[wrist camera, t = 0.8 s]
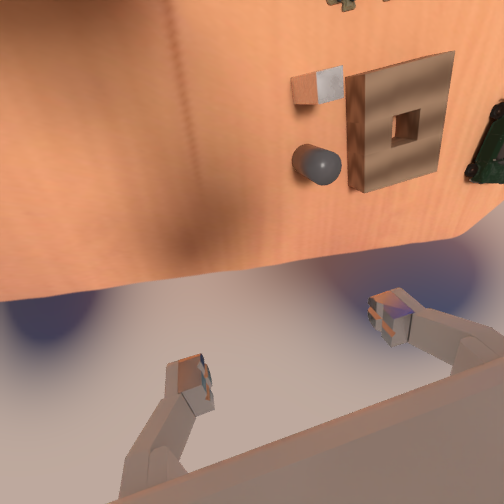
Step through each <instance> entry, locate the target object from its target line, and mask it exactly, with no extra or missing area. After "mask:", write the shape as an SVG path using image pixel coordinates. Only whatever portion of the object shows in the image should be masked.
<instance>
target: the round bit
mask: <svg viewBox="0 0 504 504" xmlns="http://www.w3.org/2000/svg"><path fill="white" fill-rule="evenodd" d="M292 165H293V168H294V169H295V170H296V171H297V172H298V173H300V174H302V175H303V176H305V177H307V178H308V179H310V180H312V181H313V182H315V183H317V184H318V185H328V184H330V183H332V182H334V181H335V180H336V179H337V177H338V176H339V174H340V171H341V167H342V164H341V159H340V157H339V156H338V155H337V154H336V153H334V152H331V151H328V150H325V149H322V148H319V147H316V146H313V145H310V144H304V145H301V146H300V147H298V148H297V149H296V150H295V152H294V154H293V156H292Z"/></svg>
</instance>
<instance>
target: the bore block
mask: <svg viewBox="0 0 504 504" xmlns="http://www.w3.org/2000/svg"><path fill="white" fill-rule="evenodd" d="M454 55H455V51H450V52H444V53H439V54H434V55H429V56H424V57H420V58H417V59H413V60H409V61H405V62H401V63H398V64H394V65H390V66H386V67H383V68H379V69H375V70H371V71H367V72H364V73H360V74H356V75H352V76H348V77H345V81H346V119H347V158H348V186H350V187H352V188H354V189H356V190H358V191H360V192H362V193H368V192H371V191H374V190H377V189H381V188H384V187H387V186H390V185H394V184H397V183H400V182H404V181H407V180H410V179H413V178H417V177H420V176H423V175H426V174H430V173H433V172H436V171H437V167H438V161H439V154H440V147H441V141H442V134H443V128H444V121H445V114H446V108H447V101H448V94H449V88H450V81H451V75H452V68H453V61H454ZM395 115H397V118H396V134H395V137H393V138H392V122H393V116H395Z"/></svg>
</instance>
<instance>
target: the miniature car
mask: <svg viewBox="0 0 504 504" xmlns="http://www.w3.org/2000/svg"><path fill="white" fill-rule="evenodd" d="M490 117H491V118H494V119H496V121H495V122H493V123H492V125H491V127H490V129H489V131H488V134H487V136H486V138H485V140H484V142H483V145H482V147H481V149H480V151H479V153H478V155H477V158H476V160H475V161H476V162H477V163H478V164H477V163H476V162H475V163H476V164H475V163H474V164H470V165H468V166H467V168H466V170H465V172H464V173H465V174H466V176H468V177H472V178H470V179H469V181H470V182H473V183H479V184H483V183H499V184H504V103H500V104H498V105H495V106H494V107H493V108H492V110H491V113H490ZM497 119H498V120H497ZM472 169H473V170H472Z"/></svg>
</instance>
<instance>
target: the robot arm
mask: <svg viewBox="0 0 504 504" xmlns="http://www.w3.org/2000/svg"><path fill="white" fill-rule="evenodd" d="M368 304H369V305H370V308H369V309H368V318H369V321H370V322H371V324H372V326H373V327H374V328H375V329H376V330H378V331H381V332H382V338H383V339H384V340H385V341H386V342H387V343H388V344H389V346H390V347H394V346H397V345H400V344H404V343H407V342H409V344H411V345H413V346H415V347H418V348H419V349H421V350H423V351H425V352H427V353H429V354H431V355H433V356H435V357H437V358H439V359H441V360H443V361H444V362H446V363H448V364H450V365H452V366H453V367H452V370H451V374H450V377H447V378H444V379H441V380H439V381H436V382H433V383H431V384H428V385H425V386H422V387H420V388H417V389H414V390H412V391H409V392H406V393H404V394H401V395H398V396H395V397H393V398H390V399H387V400H385V401H382V402H379V403H376V404H374V405H372V406H368V407H366V408H363V409H360V410H358V411H355V412H352V413H349V414H347V415H344V416H341V417H339V418H336V419H333V420H331V421H328V422H325V423H323V424H320V425H318V426H315V427H312V428H309V429H307V430H304V431H301V432H299V433H296V434H293V435H290V436H288V437H285V438H282V439H280V440H277V441H274V442H271V443H269V444H266V445H263V446H261V447H258V448H255V449H253V450H250V451H247V452H245V453H242V454H239V455H236V456H234V457H231V458H229V459H226V460H223V461H220V462H218V463H215V464H212V465H210V466H207V467H204V468H201V469H199V470H196V471H193V472H191V473H187V471H186V470H185V469H184V467H183V466H182V465H181V464H180V462H179V459H180V457H181V455H182V452H183V450H184V447H185V444H186V442H187V439H188V437H189V434H190V432H191V429H192V427H193V424H194V422H195V419H196V417H197V416H199V415H202V414H204V413H207V412H210V411H212V410H214V398H213V393H212V391H211V387H212V380H211V375H210V371H209V368H208V366H207V364H205V363H204V357H203V355H202V354H197V355H194V356H190V357H187V358H184V359H181V360H178V361H175V362H172V363H168V364H167V367H166V381H165V398H164V399H162V400H161V401H160V402H159V404H158V406H157V407H156V409H155V411H154V412H153V414H152V415H151V417H150V419H149V420H148V422H147V423H146V425H145V427H144V428H143V430H142V432H141V433H140V435H139V437H138V438H137V440H136V441H135V443H134V445H133V446H132V448H131V449H130V451H129V453H128V454H127V456H126V458H125V462H124V468H123V474H122V480H121V487H120V492H119V498H118V500H115V501H112V502H110V503H107V504H504V336H503V335H501V334H500V333H498V332H497V331H495V330H494V329H493V328H492V327H488V326H485V325H482V324H479V323H476V322H472V321H469V320H466V319H463V318H459V317H456V316H453V315H450V314H446V313H444V312H440V311H437V310H434V309H431V308H428V309H426V308H424V307H423V306H422V305H421V304H420V303H418V302H417V301H416V300H415V299H414V298H412V297H411V296H410V295H409V294H407V293H406V292H405V291H404V290H403V289H401V288H396V289H392V290H390V291H386V292H384V293H381V294H377V295H375V296H372V297H369V299H368Z"/></svg>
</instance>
